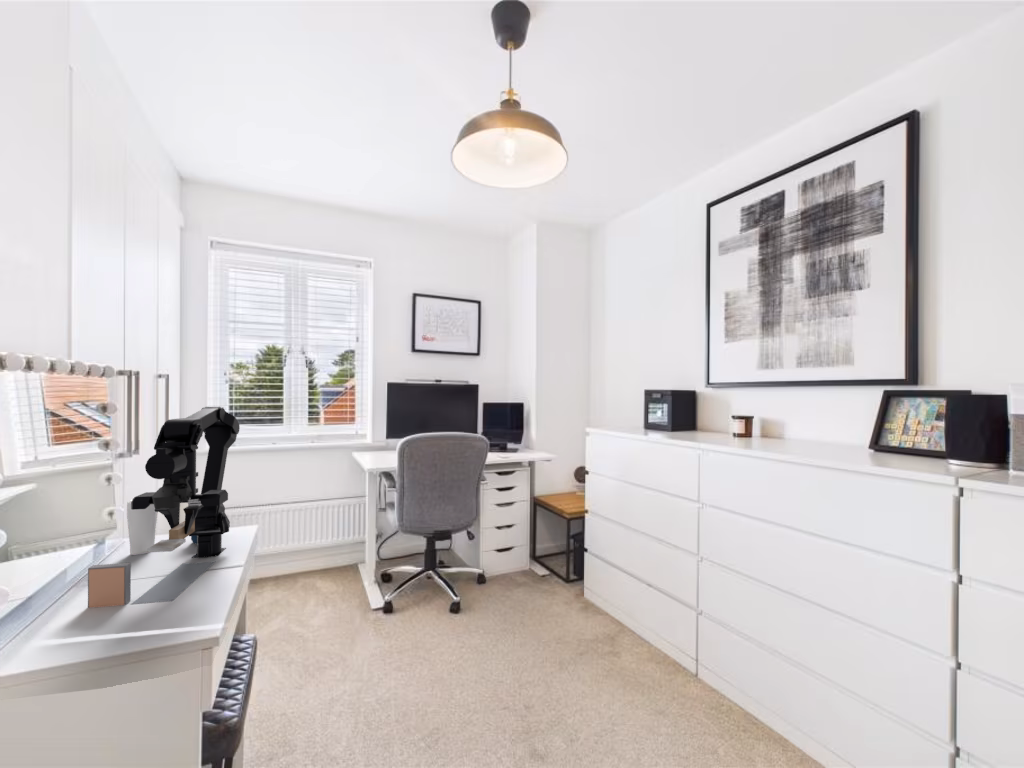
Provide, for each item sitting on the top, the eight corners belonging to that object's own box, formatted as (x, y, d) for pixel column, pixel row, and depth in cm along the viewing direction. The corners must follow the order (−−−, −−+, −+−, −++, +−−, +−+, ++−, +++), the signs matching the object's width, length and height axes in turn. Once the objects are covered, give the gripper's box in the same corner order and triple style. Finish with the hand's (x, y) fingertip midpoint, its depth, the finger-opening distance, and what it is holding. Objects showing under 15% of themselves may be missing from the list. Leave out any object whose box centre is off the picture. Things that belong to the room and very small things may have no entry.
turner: (179, 532, 114) (179, 520, 114) (201, 530, 115) (201, 519, 115) (146, 552, 100) (146, 539, 100) (172, 551, 101) (172, 537, 101)
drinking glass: (144, 557, 124) (144, 503, 123) (120, 557, 124) (120, 503, 124) (163, 548, 130) (163, 497, 130) (140, 548, 130) (140, 496, 130)
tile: (93, 606, 97) (93, 565, 97) (130, 603, 98) (130, 562, 98) (87, 610, 95) (87, 568, 95) (125, 607, 97) (125, 566, 97)
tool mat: (182, 565, 118) (182, 563, 118) (216, 563, 120) (216, 561, 120) (130, 607, 97) (130, 604, 97) (172, 603, 99) (172, 600, 99)
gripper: (115, 479, 100) (115, 548, 100) (209, 476, 104) (209, 543, 104) (145, 469, 111) (145, 532, 111) (229, 467, 115) (228, 527, 115)
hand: (181, 534), depth 110 cm, fingers closed on turner, 2 cm apart
